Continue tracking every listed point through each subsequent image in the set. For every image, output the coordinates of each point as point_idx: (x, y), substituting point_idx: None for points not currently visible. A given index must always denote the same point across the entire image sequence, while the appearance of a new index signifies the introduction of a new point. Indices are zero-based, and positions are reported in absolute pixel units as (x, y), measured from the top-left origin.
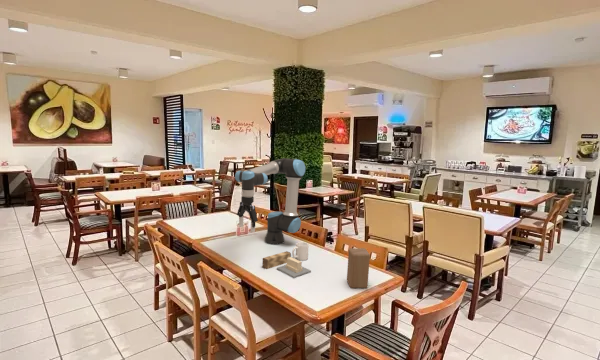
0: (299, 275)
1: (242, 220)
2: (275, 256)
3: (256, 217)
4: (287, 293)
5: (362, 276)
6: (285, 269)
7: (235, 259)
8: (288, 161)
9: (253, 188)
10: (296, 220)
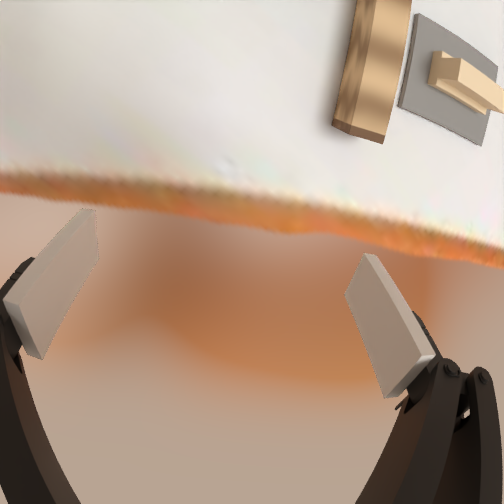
0: (485, 120)
1: (53, 274)
2: (390, 70)
3: (490, 420)
4: (484, 240)
5: None
6: (436, 102)
7: (150, 152)
8: None
9: None
10: None
